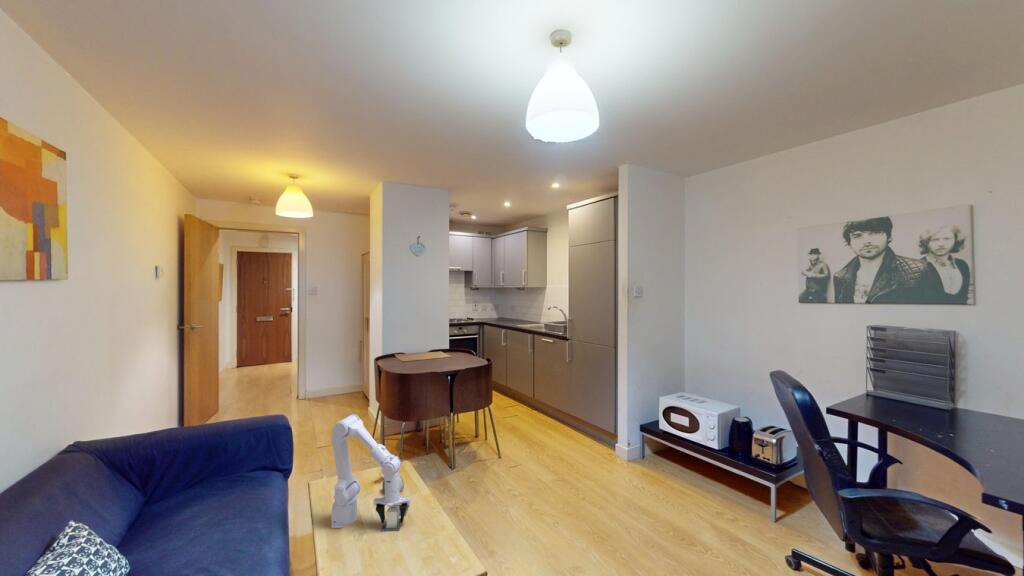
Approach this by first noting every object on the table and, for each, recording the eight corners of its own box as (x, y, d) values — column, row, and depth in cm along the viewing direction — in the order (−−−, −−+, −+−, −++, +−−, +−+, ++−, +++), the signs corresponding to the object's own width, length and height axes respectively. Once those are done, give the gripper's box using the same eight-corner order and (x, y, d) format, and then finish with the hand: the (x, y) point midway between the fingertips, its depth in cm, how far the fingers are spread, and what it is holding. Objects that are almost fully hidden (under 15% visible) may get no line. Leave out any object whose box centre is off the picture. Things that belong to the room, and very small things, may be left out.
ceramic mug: (405, 493, 187) (404, 477, 187) (388, 500, 181) (387, 483, 181) (396, 485, 195) (395, 469, 195) (379, 491, 190) (379, 475, 190)
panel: (378, 535, 157) (378, 530, 157) (391, 508, 175) (391, 504, 174) (401, 534, 157) (401, 529, 157) (411, 508, 175) (411, 503, 175)
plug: (386, 528, 159) (386, 510, 159) (389, 522, 163) (389, 504, 163) (396, 528, 159) (396, 509, 159) (399, 521, 163) (398, 504, 163)
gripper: (370, 494, 156) (371, 528, 156) (407, 493, 156) (408, 527, 157) (376, 485, 163) (377, 517, 163) (411, 484, 164) (412, 516, 164)
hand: (392, 521), depth 161 cm, fingers open, 7 cm apart
